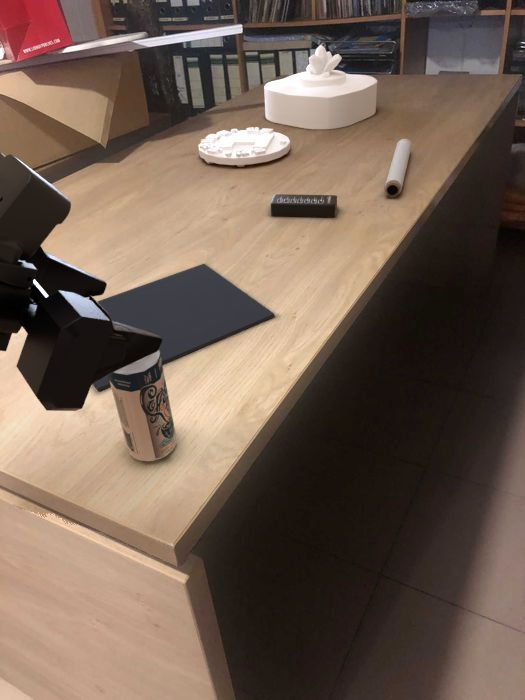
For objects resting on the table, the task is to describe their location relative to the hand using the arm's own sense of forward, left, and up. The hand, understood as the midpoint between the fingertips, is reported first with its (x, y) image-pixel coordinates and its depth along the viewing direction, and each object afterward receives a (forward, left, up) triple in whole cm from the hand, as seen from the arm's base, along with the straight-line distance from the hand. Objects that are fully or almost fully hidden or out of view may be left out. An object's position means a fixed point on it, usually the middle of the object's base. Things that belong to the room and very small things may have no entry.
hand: (130, 314), depth 46 cm
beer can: (+1, +4, -18) cm, 18 cm away
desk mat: (+12, +24, -17) cm, 32 cm away
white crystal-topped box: (+89, +86, -18) cm, 125 cm away
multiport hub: (+47, +39, -18) cm, 64 cm away
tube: (+72, +41, -18) cm, 85 cm away
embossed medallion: (+57, +73, -18) cm, 94 cm away
